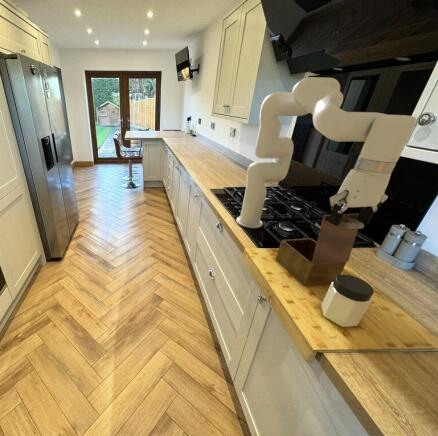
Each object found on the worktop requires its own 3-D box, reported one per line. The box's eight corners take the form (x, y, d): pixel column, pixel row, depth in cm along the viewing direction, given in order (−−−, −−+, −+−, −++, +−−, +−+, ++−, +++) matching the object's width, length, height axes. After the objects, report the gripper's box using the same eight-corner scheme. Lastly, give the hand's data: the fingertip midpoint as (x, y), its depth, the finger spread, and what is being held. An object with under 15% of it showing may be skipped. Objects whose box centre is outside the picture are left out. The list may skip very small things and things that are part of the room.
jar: (340, 303, 73) (356, 272, 67) (364, 326, 65) (384, 293, 60) (313, 305, 72) (327, 274, 67) (335, 328, 65) (352, 295, 59)
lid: (323, 215, 71) (338, 220, 66) (360, 213, 72) (377, 218, 67) (311, 263, 76) (325, 271, 71) (346, 260, 78) (361, 268, 73)
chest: (275, 258, 94) (281, 239, 90) (304, 256, 95) (311, 238, 91) (303, 285, 80) (312, 264, 76) (336, 282, 81) (346, 262, 77)
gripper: (387, 161, 66) (361, 215, 74) (333, 163, 64) (311, 218, 72) (418, 169, 60) (385, 227, 68) (358, 170, 58) (332, 230, 65)
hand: (347, 222), depth 70 cm, fingers open, 9 cm apart
